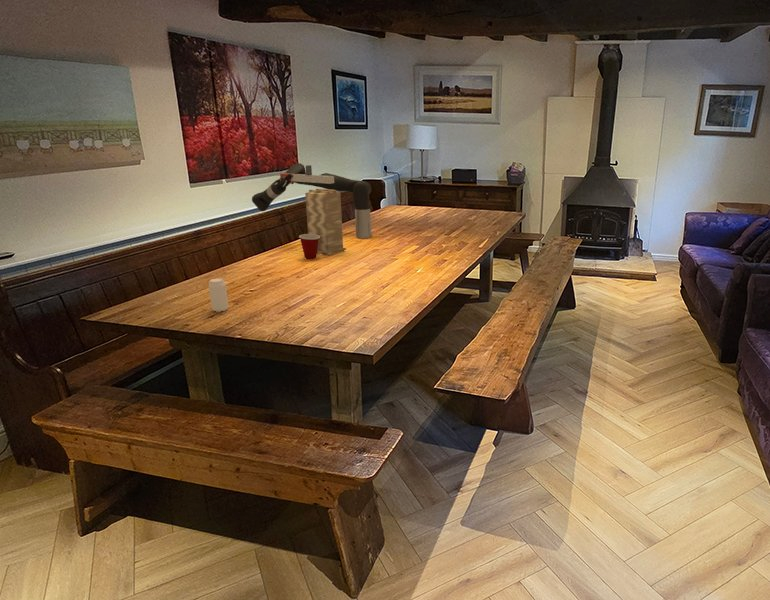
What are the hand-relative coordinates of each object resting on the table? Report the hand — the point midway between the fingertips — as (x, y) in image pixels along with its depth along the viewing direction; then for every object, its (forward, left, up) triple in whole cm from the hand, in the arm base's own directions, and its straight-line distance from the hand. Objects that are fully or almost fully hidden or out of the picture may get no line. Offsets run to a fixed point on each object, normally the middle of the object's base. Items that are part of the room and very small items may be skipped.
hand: (293, 174), depth 291 cm
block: (-8, +5, -3) cm, 10 cm away
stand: (-18, +10, -40) cm, 45 cm away
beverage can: (+3, +106, -40) cm, 114 cm away
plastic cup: (-13, +25, -40) cm, 49 cm away
